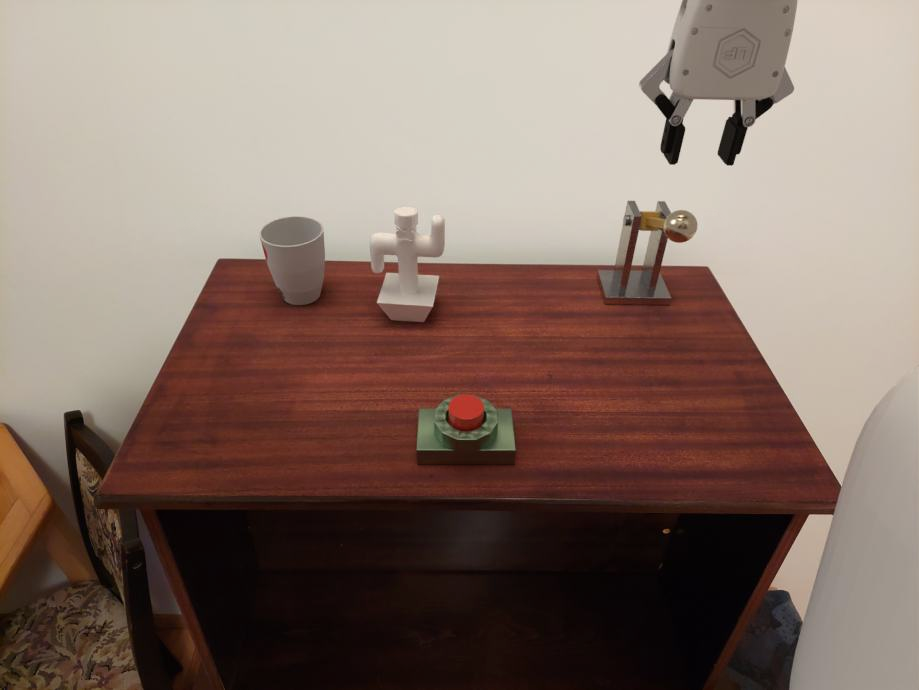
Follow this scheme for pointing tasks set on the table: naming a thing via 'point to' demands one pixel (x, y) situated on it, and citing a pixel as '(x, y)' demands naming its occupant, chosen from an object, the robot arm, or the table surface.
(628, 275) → the bracket
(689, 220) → the lever
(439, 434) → the button box
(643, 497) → the table surface
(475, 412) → the button
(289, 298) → the cup
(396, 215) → the figurine
